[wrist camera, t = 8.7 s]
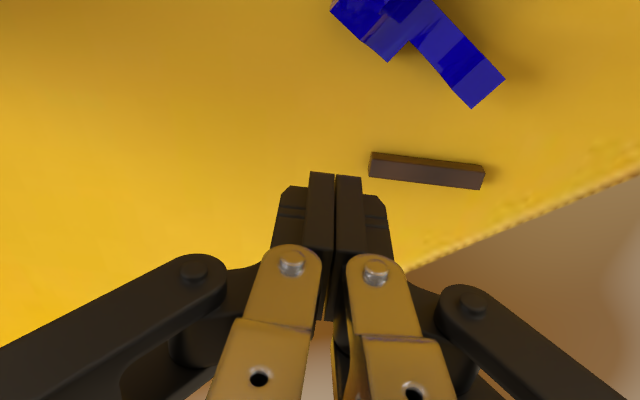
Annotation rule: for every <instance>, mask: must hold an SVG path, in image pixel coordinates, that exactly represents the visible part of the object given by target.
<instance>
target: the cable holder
mask: <svg viewBox="0 0 640 400" xmlns="http://www.w3.org/2000/svg"><path fill="white" fill-rule="evenodd" d="M330 12H331V13H332V14H333V15H334V16H335V17H336V18H337V19H338V20H339V21H340V22H341V23H342V24H343V25H344V26H345V27H347V28H348V29H349V30H350V31H351V32H352V33H353V34H354V35H355V36H356V37H357V38H358V39H359V40H360V41H362V42H363V43H365V44H366V45H367V46H369V47H370V48H371V49H373V50H374V51H375V52H376V53H377V54H378V55H380V56H381V57H382V58H383V59H384V60H385V61H386V62H387V63H388V62H389V61H390V60H391V58H392V57H393V56H394V55H395V54H396V53H397V52H398V51H399V50H400V49H401V48H402V47H403V46H404V45H405V44H406V43H407V42H408V41H410V42H411V43H412V44H413V45H414V46H415V47H416V48H417V49H418V50H419V52H420V53H421V54H422V55H423V56H424V57H425V58H426V59H427V60H428V61H429V62H430V63H431V65H432V66H433V67H434V68H435V69H436V70H437V71H438V73H439V74H440V75H441V76H442V77H443V79H444V80H445V81H446V83H447V84H448V85H449V87H450V88H451V89H452V90H453V91H454V92H455V93H456V94H457V95H458V96H459V97H460V98H461V99H462V100H463V101H464V102H465V103H466V104H467V105H468V106H469V108H470V109H472V108H473V107H474V106H476V105H477V104H478V103H479V102H480V101H481V100H483V99H484V98H485V97H486V96H487V95H488V94H489V93H491V92H492V91H493V90H494V89H495V88H496V87H497V86H499V85H500V84H501V83H502V82H503V81H504V80H505V78H504V77H503V76H502V74H501V73H500V72H499V71H498V70H497V69H496V68H495V67H494V66H493V65H492V64H491V63H490V62H489V60H488V59H487V58H486V57H485V56H484V55H483V54H482V53H481V52H480V51H479V50H478V49H477V48H476V47H475V46H474V45H473V44H472V43H471V42H470V41H469V40H468V39H467V37H466V36H465V35H464V34H463V33H462V32H461V31H460V30H459V29H458V28H457V27H456V26H455V25H454V24H453V23H452V22H451V20H450V19H449V18H448V17H447V16H446V15H445V14H444V13H443V12H442V11H441V10H440V9H439V8H438V6H437V5H436V4H435V3H434V2H433V1H432V0H333V1H332V2H331V6H330Z"/></svg>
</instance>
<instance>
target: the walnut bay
mask: <svg viewBox="0 0 640 400" xmlns="http://www.w3.org/2000/svg"><path fill="white" fill-rule="evenodd" d="M485 174H486V173H485V171H484V169H483V167H482V166H480V165H472V164H464V163H455V162H447V161H439V160H431V159H423V158H415V157H407V156H399V155H390V154H382V153H374V152H372V153H371V156H370V161H369V166H368V176H369V177H374V178H382V179H390V180H398V181H407V182H415V183H423V184H431V185H439V186H447V187H456V188H464V189H472V190H480V188H481V185H482V182H483V179H484V176H485Z"/></svg>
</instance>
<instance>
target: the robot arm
mask: <svg viewBox="0 0 640 400" xmlns="http://www.w3.org/2000/svg"><path fill="white" fill-rule="evenodd" d="M334 181H335V183H334ZM323 307H324V321H331V322H333V336H332V341H331V346H330V353H331V366H332V380H333V394H334V400H505V399H504V398H503V397H502V396H501V395H500V394H499V393H498V392H497V391H496V390H495V389H494V388H492V387H491V386H490V385H489V384H488V383H487V382H486V381H485V380H484V379H483V378H481V377H480V376H479V375H478V372H479V370H480V368H481V369H482V370H483V371H484V372H485V373H487V374H488V375H489V376H490V377H491V378H492V379H493V380H494V381H495V382H497V383H498V384H499V385H500V386H501V387H502V388H503V389H504V390H505V391H506V392H508V393H509V394H510V395H511V396H512V397H513V398H514V399H515V400H627V399H626V398H624V397H623V396H622V395H620V394H619V393H618V392H616V391H615V390H614V389H612V388H611V387H610V386H608V385H607V384H606V383H604V382H603V381H602V380H601V379H599V378H598V377H597V376H595V375H594V374H593V373H591V372H590V371H589V370H588V369H586V368H585V367H584V366H582V365H581V364H579V363H578V362H577V361H575V360H574V359H573V358H572V357H570V356H569V355H568V354H567V353H565V352H564V351H562V350H561V349H560V348H558V347H557V346H556V345H555V344H553V343H552V342H551V341H550V340H548V339H547V338H546V337H544V336H543V335H541V334H540V333H539V332H538V331H536V330H535V329H534V328H532V327H531V326H530V325H529V324H527V323H526V322H524V321H523V320H522V319H521V318H519V317H518V316H517V315H515V314H514V313H513V312H511V311H510V310H509V309H508V308H506V307H505V306H504V305H502V304H501V303H500V302H498V301H497V300H496V299H494V298H493V297H492V296H490V295H489V294H487V293H486V292H484V291H482V290H480V289H478V288H476V287H473V286H469V285H463V284H458V285H457V284H456V285H451V286H448V287H446V288H445V289H444V290H443V291H442V292H441V295H438V294H435V293H433V292H430V291H427V290H424V289H421V288H419V287H417V286H415V285H413V284H411V283H410V282H408V281H407V280H406V277H405V274H404V271H403V270H402V268H401V267H400V266H399V265H398V264H397V263H396V262H395V261H394V256H393V250H392V244H391V237H390V231H389V225H388V220H387V213H386V207H385V205H384V204H383V203H382V202H381V200H380V199H379V198H378V197H377V196H375V195H366V194H363V193H362V182H361V177H355V176H347V175H339V174H336V177H335V175H334V174H330V173H322V172H313V171H310V177H309V185H308V188H307V187H299V186H291V185H290V186H289V187H288V188H287V189H286V190H285V191H284V192H283V193H282V194H281V198H280V203H279V207H278V212H277V217H276V222H275V227H274V232H273V236H272V241H271V246H270V250H268V251H267V252H266V253H265V254H264V256H263V258H262V261H260V262H259V263H257V264H255V265H252V266H249V267H246V268H240V269H232V270H227V269H226V267H225V265H224V264H223V263H222V262H221V261H220V260H219V259H217V258H215V257H213V256H210V255H206V254H188V255H183V256H180V257H178V258H175V259H173V260H171V261H169V262H168V263H166V264H164V265H162V266H160V267H158V268H156V269H154V270H152V271H150V272H148V273H146V274H144V275H142V276H140V277H138V278H136V279H134V280H132V281H130V282H128V283H126V284H124V285H122V286H120V287H119V288H117V289H115V290H113V291H111V292H109V293H107V294H105V295H103V296H101V297H99V298H97V299H95V300H93V301H91V302H89V303H87V304H85V305H83V306H81V307H79V308H77V309H75V310H73V311H71V312H70V313H68V314H66V315H64V316H62V317H60V318H58V319H56V320H54V321H52V322H50V323H48V324H46V325H44V326H42V327H40V328H38V329H36V330H34V331H32V332H30V333H28V334H26V335H24V336H22V337H21V338H19V339H17V340H15V341H13V342H11V343H9V344H7V345H5V346H3V347H1V348H0V400H184V399H186V398H187V397H189V396H190V395H191V394H192V393H194V392H195V391H196V390H198V389H199V388H200V387H201V386H203V385H204V384H205V383H206V382H208V381H209V380H210V379H212V378H213V380H212V383H211V385H210V388H209V391H208V394H207V397H206V399H205V400H301V395H302V388H303V382H304V376H305V370H306V364H307V356H308V351H309V345H310V341H311V340H312V338H313V336H314V330H315V324H316V320H321V318H322V313H323Z"/></svg>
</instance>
